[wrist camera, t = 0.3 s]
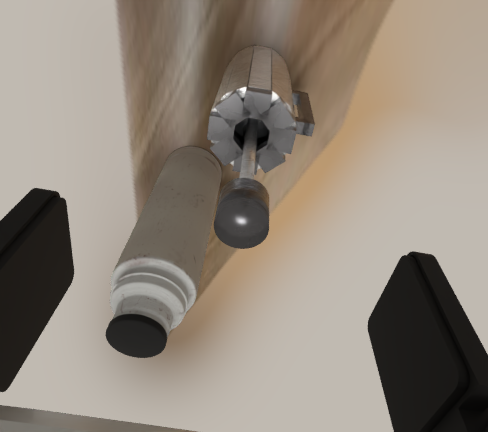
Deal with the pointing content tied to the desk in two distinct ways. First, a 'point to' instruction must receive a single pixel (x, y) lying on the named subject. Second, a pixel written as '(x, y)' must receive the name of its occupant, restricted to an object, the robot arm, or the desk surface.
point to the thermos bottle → (164, 254)
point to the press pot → (258, 109)
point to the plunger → (244, 196)
